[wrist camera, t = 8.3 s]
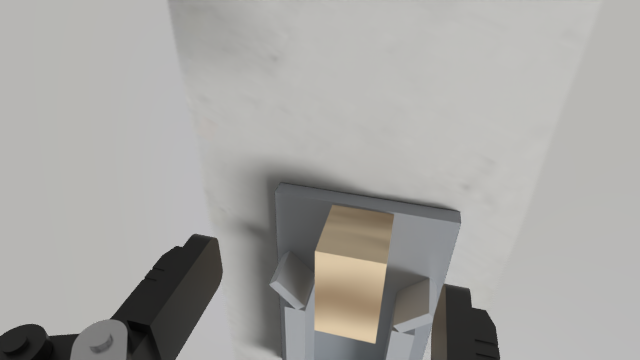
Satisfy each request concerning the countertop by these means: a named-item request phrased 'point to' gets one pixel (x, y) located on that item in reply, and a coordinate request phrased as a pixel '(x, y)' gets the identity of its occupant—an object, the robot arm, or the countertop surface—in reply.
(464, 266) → the countertop surface
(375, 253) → the beech block
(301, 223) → the guide board
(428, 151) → the countertop surface
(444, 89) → the countertop surface
